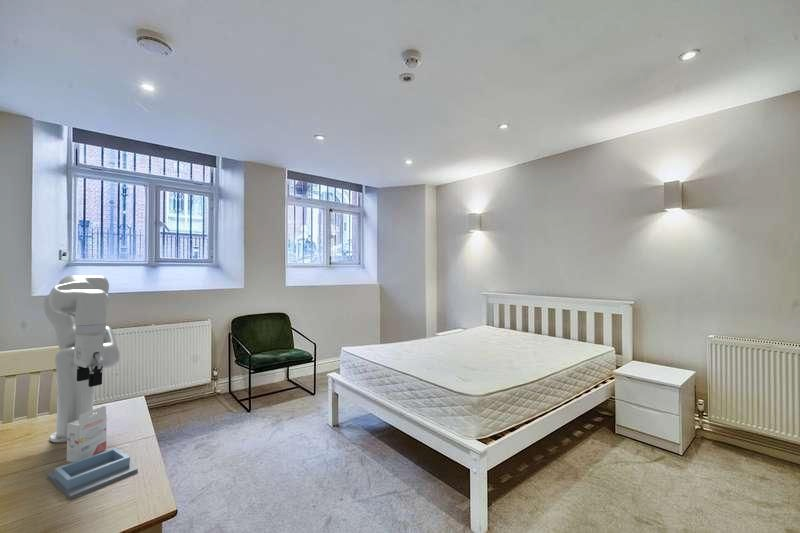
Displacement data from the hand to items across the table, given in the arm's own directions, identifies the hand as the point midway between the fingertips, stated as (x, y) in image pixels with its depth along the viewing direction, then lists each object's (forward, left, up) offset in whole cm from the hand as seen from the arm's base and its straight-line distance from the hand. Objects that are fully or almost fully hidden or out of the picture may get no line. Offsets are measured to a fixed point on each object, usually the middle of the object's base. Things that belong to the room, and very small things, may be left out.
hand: (89, 382), depth 112 cm
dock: (+15, -3, -23) cm, 28 cm away
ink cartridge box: (0, 0, -23) cm, 23 cm away
